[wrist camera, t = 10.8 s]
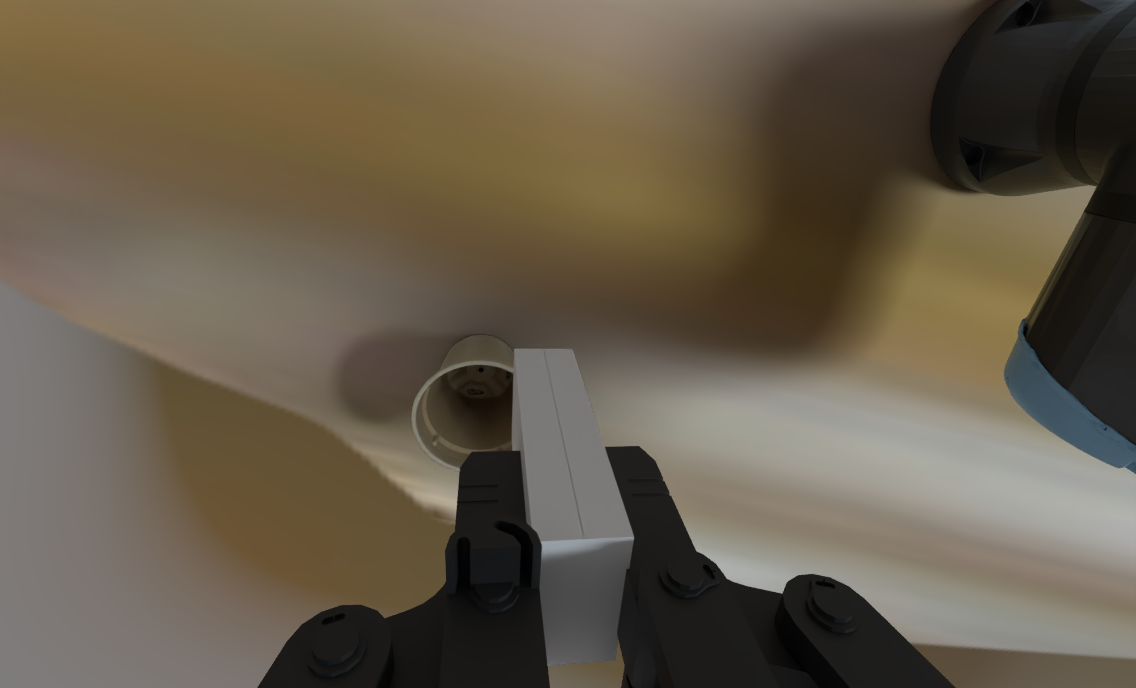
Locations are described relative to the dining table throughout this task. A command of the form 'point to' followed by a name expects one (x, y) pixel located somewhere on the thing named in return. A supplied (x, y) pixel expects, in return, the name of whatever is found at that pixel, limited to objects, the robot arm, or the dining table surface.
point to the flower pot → (466, 403)
